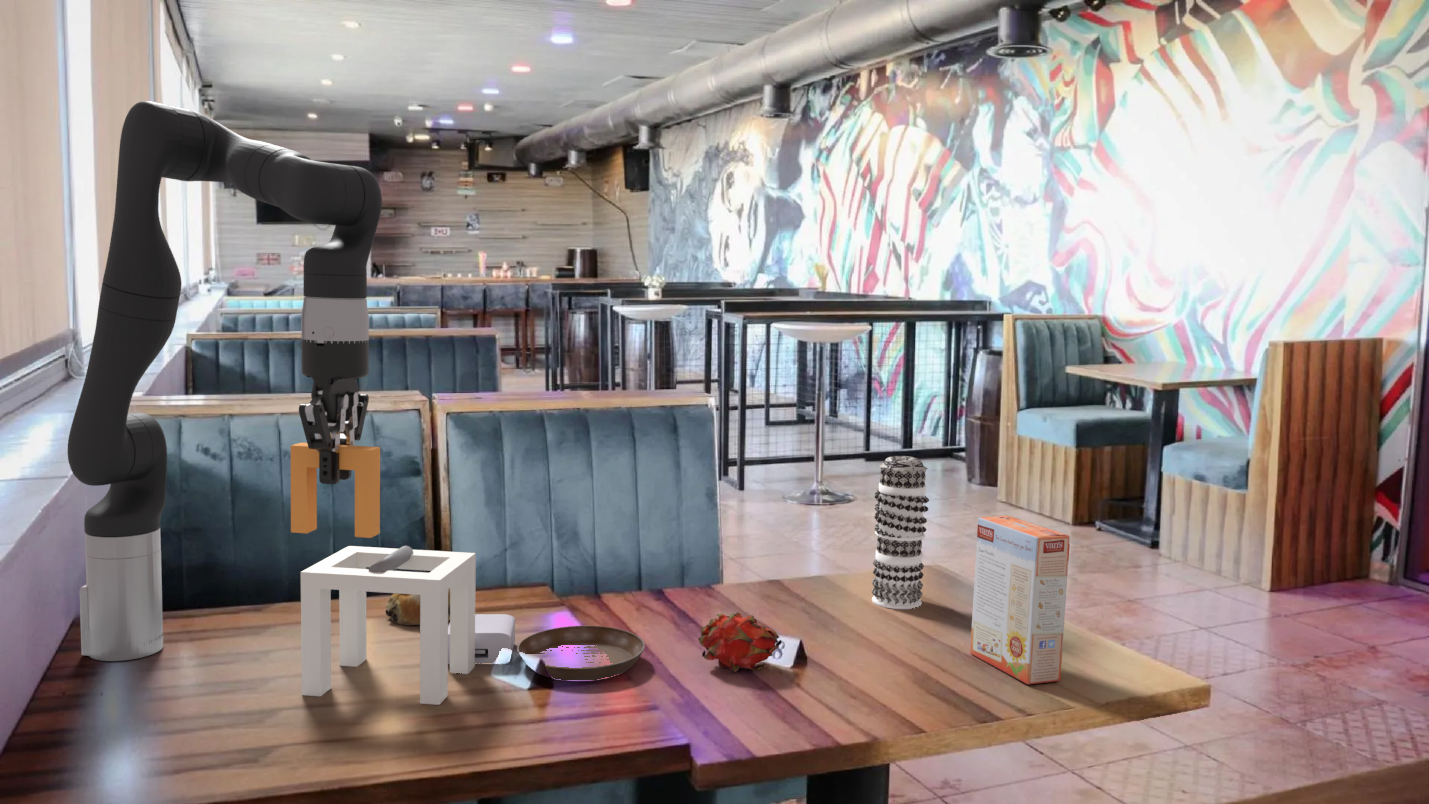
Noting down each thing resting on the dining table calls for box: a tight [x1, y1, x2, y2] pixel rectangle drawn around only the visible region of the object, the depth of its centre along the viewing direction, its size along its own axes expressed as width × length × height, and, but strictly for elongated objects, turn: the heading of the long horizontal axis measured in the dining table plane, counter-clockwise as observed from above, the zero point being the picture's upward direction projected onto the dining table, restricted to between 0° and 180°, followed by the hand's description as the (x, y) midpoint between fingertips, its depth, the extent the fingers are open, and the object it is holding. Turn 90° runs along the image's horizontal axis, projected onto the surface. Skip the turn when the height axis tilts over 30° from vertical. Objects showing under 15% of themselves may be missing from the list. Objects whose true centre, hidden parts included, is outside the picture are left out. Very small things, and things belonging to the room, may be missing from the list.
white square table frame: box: [300, 545, 477, 706], centre depth 146 cm, size 18×14×17 cm
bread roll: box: [385, 588, 450, 626], centre depth 174 cm, size 10×10×8 cm
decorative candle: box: [871, 455, 930, 610], centre depth 189 cm, size 9×9×25 cm
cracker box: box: [969, 515, 1071, 685], centre depth 158 cm, size 14×6×21 cm, turn 21°
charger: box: [448, 613, 516, 664], centre depth 161 cm, size 5×9×15 cm
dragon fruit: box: [698, 612, 782, 673], centre depth 156 cm, size 8×8×12 cm
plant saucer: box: [516, 625, 646, 680], centre depth 155 cm, size 18×18×3 cm
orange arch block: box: [290, 442, 381, 539], centre depth 133 cm, size 10×2×10 cm, turn 83°
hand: (335, 480), depth 133 cm, fingers closed on orange arch block, 2 cm apart
